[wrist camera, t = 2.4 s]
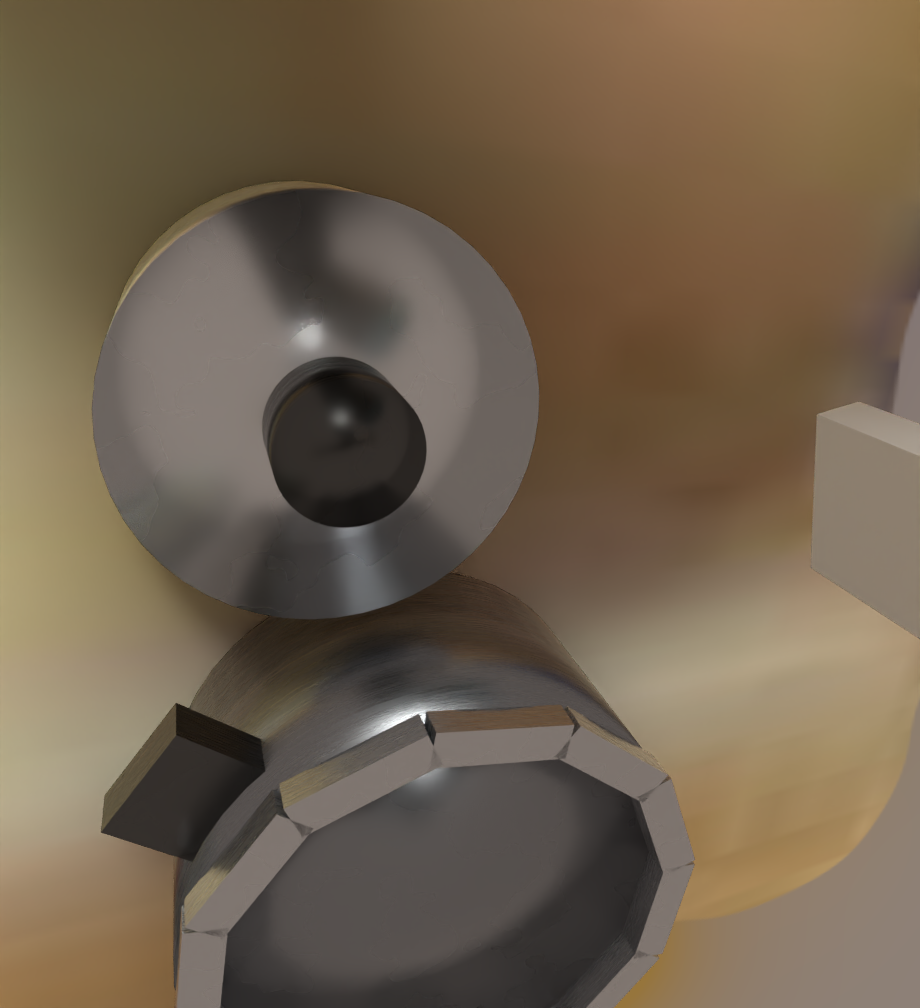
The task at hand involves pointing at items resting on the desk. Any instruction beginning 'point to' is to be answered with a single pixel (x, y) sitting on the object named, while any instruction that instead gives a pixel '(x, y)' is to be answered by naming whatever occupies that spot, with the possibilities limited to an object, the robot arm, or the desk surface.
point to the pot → (407, 817)
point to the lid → (313, 400)
